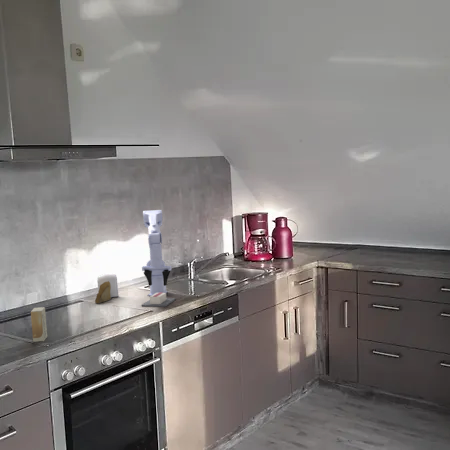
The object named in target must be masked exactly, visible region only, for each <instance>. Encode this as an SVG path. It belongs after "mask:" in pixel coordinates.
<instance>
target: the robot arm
mask: <svg viewBox="0 0 450 450" xmlns="http://www.w3.org/2000/svg"><path fill="white" fill-rule="evenodd" d="M142 216H143V217H142V219H143V225H144V227H145V228H147V229H148V235H147V238H148V239H147V240H148V246H149V258H150V259H149V260H148V261H147V262H146V265H144V266H142V267H141V271H142V272H143V275H144V276H145V277H146V280H147V283H148V286H149V292H150V293H149V294H147V297H148V296H149V297H150V296H152V295H154V294H155V293H159V292H163V293H166V294H167V293H168V292H169V291H168V290H167V285H168V284H167V283H168V279H169V276H170V274H171V271H172V265H166V263H165V261H164V259H163V252H162V251H163V250H162V244H163V235H162V232H161V227H162V226H163V210H162V209H156V210H155V209H154V210H153V209H152V210H143V211H142Z"/></svg>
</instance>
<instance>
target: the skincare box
mask: <svg viewBox="0 0 450 450" xmlns="http://www.w3.org/2000/svg"><path fill="white" fill-rule="evenodd" d="M30 319H31V320H30V321H31V322H30V323H31V331H32V332H31V333H32V342H36V343H37V342H45V341H46V340H47V337H48V329H47V316H46V308H45V307H44V306H41V307H33V308H32V310H31V311H30Z"/></svg>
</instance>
